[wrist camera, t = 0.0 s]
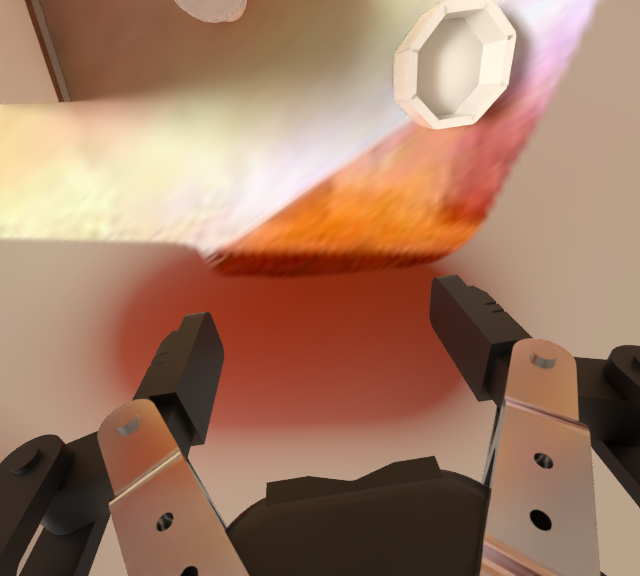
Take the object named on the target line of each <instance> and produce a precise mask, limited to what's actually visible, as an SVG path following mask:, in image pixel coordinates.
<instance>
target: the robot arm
mask: <svg viewBox="0 0 640 576" xmlns="http://www.w3.org/2000/svg"><path fill="white" fill-rule="evenodd" d="M429 316H430V322H431V325H432V328H433V330H434V331H435V333H436V335H437V336H438V338H439V339H440V341H441V342H442V344H443V346H444V347H445V349H446V350H447V352H448V354H449V355H450V357H451V358H452V360H453V362H454V363H455V365H456V366H457V368H458V369H459V371H460V373H461V374H462V376H463V378H464V379H465V381H466V382H467V384H468V386H469V387H470V389H471V390H472V392H473V394H474V395H475V397H476V398H477V400H478V401H479V402H480V401H486V400H493V401H494V402H495V404H496V405H497V407H496V411H495V416H494V421H493V427H492V432H491V437H490V443H489V448H488V453H487V459H486V464H485V468H484V473H483V477H482V481H481V483H480V482H478V481H476V480H473V479H472V478H469V477H467V476H464V475H461V474H459V473H456V472H451V471H447V470H441V469H440V468H439V466H438V463H437V461H436V458H435V456H431V457H424V458H419V459H412V460H406V461H400V462H394V463H391V464H389V465H387V466H385V467H383V468H381V469H379V470H376V471H374V472H372V473H370V474H368V475H366V476H364V477H361V478H359V479H357V480H354V481H345V480H337V479H328V478H320V477H311V476H306V477H300V478H294V479H288V480H281V481H275V482H269V483H267V489H266V498H263V499H261V500H260V501H258V502H256V503H255V504H253V505H251V506H250V507H249V508H247V509H246V510H245V511H244V512H242V513H241V514H240V515H239V516H238V517H237V518H236V519H235V520H234V521H233V522H232V523H231V524H230V525H229V526H228V527H227V525H226V523H225V522H224V520H223V518H222V517H221V515H220V513H219V512H218V510H217V508H216V506H215V505H214V503H213V501H212V500H211V498H210V496H209V494H208V492H207V491H206V489H205V487H204V486H203V484H202V482H201V480H200V479H199V477H198V475H197V473H196V471H195V470H194V468H193V466H192V465H191V463H190V461H189V459H188V458H187V457H188V454H189V450H190V446H195V445H202V444H204V443H205V438H206V434H207V430H208V426H209V421H210V417H211V413H212V409H213V404H214V400H215V395H216V392H217V387H218V382H219V378H220V374H221V370H222V366H223V362H224V349H223V345H222V342H221V339H220V337H219V334H218V332H217V329H216V326H215V324H214V321H213V318H212V316H211V314H210V313H209V312H202V313H195V314H189V315H186V316H185V317H184V319H183V321H182V324H181V326H180V328H179V330H177V331H172V332H171V333H170V334H169V335H168V336H167V337H166V338H165V339H164V340H163V341H162V342H161V344H160V346H159V348H158V350H157V352H156V356H155V357H154V358H153V360H152V362H151V366H149V368H148V370H147V372H146V374H145V376H144V378H143V380H142V382H141V384H140V386H139V388H138V390H137V392H136V394H135V396H134V398H133V400H132V401H130V402H128V403H126V404H123V405H122V406H120V407H118V408H117V409H115V410H114V411H113V412H112V413H111V414H110V415H108V416H107V418H106V419H105V420H104V421H103V423H102V424H101V426H100V428H99V430H98V431H97V432H94V433H92V434H89V435H87V436H85V437H82V438H80V439H77V440H75V441H72V442H70V443H68V444H65V443H64V442H63V441H62V440H61V439H60V438H59V437H58V436H56V435H43V436H40V437H37V438H34V439H32V440H30V441H28V442H26V443H25V444H23V445H21V446H20V447H18V448H17V449H16V450H14V451H13V452H12V453H11V454H10V455H8V456H7V457H6V458H5V459H4V460H3V461H2V462H1V463H0V576H16V574H17V569H18V565H19V562H20V561H21V558H22V557H23V555H24V553H25V551H26V549H27V547H28V545H29V543H30V541H31V539H32V538H33V536H34V534H35V532H36V530H37V528H38V526H39V524H41V525H42V526H44V528H43V530H42V532H41V534H40V536H39V538H38V540H37V542H36V544H35V546H34V547H33V549H32V551H31V553H30V555H29V557H28V559H27V561H26V563H25V565H24V567H23V569H22V571H21V573H20V575H19V576H88V575H89V572H90V569H91V566H92V564H93V561H94V558H95V555H96V553H97V550H98V547H99V544H100V542H101V539H102V536H103V533H104V531H105V528H106V525H107V523H108V520H109V517H110V515H111V517H112V520H113V524H114V527H115V531H116V535H117V538H118V542H119V545H120V548H121V552H122V556H123V559H124V563H125V566H126V570H127V573H128V576H606V575H605V574H604V573H602V572H601V571H600V563H599V548H598V535H597V521H596V508H595V495H594V480H593V468H592V453H591V447H592V448H593V450H594V451H595V452H596V453H597V455H598V456H599V457H600V458H601V460H602V461H603V462H604V463H605V465H606V466H607V467H608V468H609V470H610V471H611V472H612V473H613V475H614V476H615V477H616V479H617V480H618V481H619V482H620V484H621V485H622V486H623V487H624V489H625V490H626V491H627V492H628V494H629V495H630V496H631V497H632V499H633V500H634V501H635V502H636V504H637V505H638V506H639V508H640V346H635V345H634V346H633V345H623V346H619V347H616V348H614V349H613V350H612V352H611V354H610V355H609V357H608V359H607V360H602V359H590V358H579V357H573V356H572V355H571V354H570V353H569V352H568V351H567V350H566V349H564V348H563V347H561V346H559V345H557V344H555V343H553V342H550V341H547V340H542V339H535V338H532V337H531V336H530V335H529V334H528V333H527V332H526V331H525V330H524V329H523V328H522V327H521V326H520V325H519V324H518V323H517V322H516V321H515V320H514V319H513V318H512V317H511V316H510V315H509V314H508V313H507V312H504V309H503V308H502V307H501V306H500V305H499V304H496V301H495V300H494V299H493V298H492V297H490V296H489V294H488V293H486V292H484V291H482V290H480V289H479V288H476V287H474V286H467V285H466V284H465V283H464V282H463V281H462V279H460V277H459V276H458V275H455V274H454V275H448V276H441V277H435V278H434V279H433V280H432V285H431V298H430V310H429Z"/></svg>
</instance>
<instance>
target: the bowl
mask: <svg viewBox="0 0 640 576" xmlns="http://www.w3.org/2000/svg"><path fill="white" fill-rule="evenodd" d="M515 33H516V31H515V29H514V28H513V27H512V25H511V24H510V22H509V21H508V19H507V18H506V16H505V15H504V13H503V12H502V10H501V9H500V7H499V6H498V4H497V3H496V2H495V0H448V1H444V2H442V3H440V4H439V5H437V6H435V7H434V8H432V9H430V10H428V11H427V12H425V13H424V14H422V16H421V17H420V19H419V20H418V21H417V23H416V24H415V25H414V27H413V28H412V29H411V30H410V31H409V33H408V34H407V35H406V37H405V38H404V40H403V41H402V43H401V45H400V46H399V48H398V49H397V50H396V52H395V55H394V67H393V88H394V99H395V102H396V103H397V104H398V105H399V106H400V107H401V109H402V110H403V111H404V112H405V113H406V114H407V115H408V116H409V117H411V118H412V119H413V120H414V121H415V122H416V123H417V125H419V126H423V127H427V128H431V129H443V128H450V127H457V126H464V125H471V124H474V123H476V122H477V121H478V120H479V118H480V117H481V116H482V115H483V114H484V113H485V112H486V111H487V109H488V108H489V107H490V106H491V105H492V104H493V103H494V102H495V100H496V99H497V98H498V97H499V96H500V95H501V94H502V93H503V91H504V90H505V89H506V88H507V85H508V84H509V77H510V71H511V65H512V59H513V53H514V47H515V41H516V35H517V34H515ZM514 34H515V35H514Z"/></svg>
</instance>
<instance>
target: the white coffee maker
mask: <svg viewBox="0 0 640 576" xmlns="http://www.w3.org/2000/svg"><path fill="white" fill-rule="evenodd" d="M51 102H71V99H70V96H69V93H68V89H67V86H66V83H65V80H64V77H63V74H62V71H61V67H60V64H59V61H58V58H57V55H56V52H55V49H54V45H53V42H52V39H51V36H50V33H49V30H48V27H47V23H46V20H45V17H44V14H43V11H42V8H41V5H40V2H39V0H0V104H22V103H51Z"/></svg>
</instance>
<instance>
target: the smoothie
mask: <svg viewBox="0 0 640 576" xmlns="http://www.w3.org/2000/svg"><path fill="white" fill-rule="evenodd" d="M174 1H175V2H176V3H177V4H178V6H179V7H180V8H182V9H183V10H184V11H185V12H187V13H188V14H189V15H190V16H192V17H195V18H197V19H199V20H201V21H205V22H212V23H217V22H222V21H225V22H233V21H236V20H238V19H239V18H240V17H241V16H242V15H243V13H244V11H245V9H246V5H247V0H174Z"/></svg>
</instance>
